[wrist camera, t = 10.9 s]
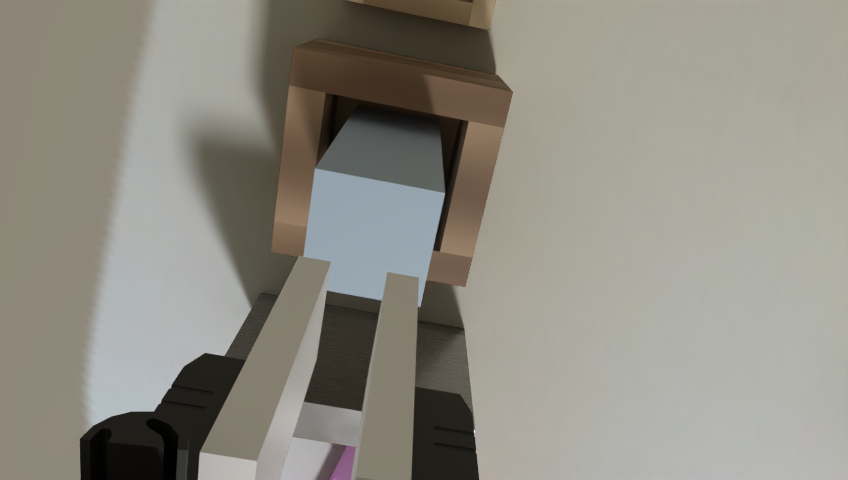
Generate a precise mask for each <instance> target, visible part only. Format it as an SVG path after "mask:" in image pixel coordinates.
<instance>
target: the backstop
mask: <svg viewBox="0 0 848 480" xmlns="http://www.w3.org/2000/svg"><path fill="white" fill-rule="evenodd" d="M278 297H279V296H274V295H268V294H263V293H260V295H259V297H258V299H257V300H256V302H255V304H254V306H253V307H252V309H251V311H250V313H249V314H248V316H247V318H246V320H245V321H244V323H243V325H242V327H241V328H240V330H239V332H238V334H237V335H236V337H235V339H234V341H233V342H232V344H231V346H230V348H229V349H228V351H227V353H226V355H225V356H226V357H232V358H237V359H243V360H247V358H248V356H249V354H250V352H251V350H252V348H253V346H254V344H255V342H256V340H257V338H258V336H259V334H260V332H261V330H262V328H263V326H264V324H265V322H266V320H267V318H268V316H269V314H270V312H271V310H272V308H273V306H274V304H275V302H276V300H277V298H278ZM378 318H379V314H377V313H371V312H365V311H360V310H354V309H348V308H342V307H337V306H331V305H325V307H324V313H323V320H322V327H321V333H320V340H319V346H318V353H317V360H316V363H315V366H314V369H313V373H312V376H311V379H310V382H309V385H308V389H307V392H306V395H305V398H304V401H303V405H302V408H301V411H300V414H299V417H298V421H297V424H296V427H295V430H294V433H293V437H297V438H304V439H310V440H316V441H322V442H328V443H335V444H341V445H347V446H353V447H356V444H357V438H358V432H359V426H360V420H361V414H362V408H363V402H364V395H365V389H366V383H367V377H368V371H369V365H370V360H371V355H372V350H373V344H374V339H375V334H376V329H377V323H378ZM415 387H421V388H427V389H433V390H439V391H444V392H450V393H456V394H460V395H461V396H462V398H463V399H464V401H465V403H466V404H467V406H468V407H469V409H470V410H471V412H472V415H473V406H472V397H471V387H470V378H469V368H468V359H467V349H466V340H465V330H464V329H462V328H456V327H451V326H445V325H439V324H434V323H428V322H422V321H417V341H416V368H415ZM473 425H474V416H473ZM474 432H475V425H474Z"/></svg>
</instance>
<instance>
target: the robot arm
mask: <svg viewBox="0 0 848 480" xmlns="http://www.w3.org/2000/svg"><path fill="white" fill-rule="evenodd" d="M330 267H331V262H330V261H324V260H319V259H313V258H308V257H302V256H299V257H298V259H297V261H296V263H295V265H294V267H293V269H292V271H291V273H290V275H289V277H288V279H287V281H286V283H285V285H284V287H283V289H282V291H281V293H280V295H279V297H278V298H277V300H276V302H275V304H274V306H273V308H272V310H271V312H270V314H269V316H268V318H267V320H266V322H265V324H264V326H263V328H262V330H261V332H260V334H259V336H258V338H257V340H256V342H255V344H254V346H253V348H252V350H251V352H250V354H249V356H248V358H247V360H243V359H237V358H232V357H226V356H220V355H214V354H208V353H205V354H203V355H201V356H200V357H198V358H197V359H195V360H194V361H192V362H191V363H189V364H187V365H186V366H184V367H183V369H182V370H181V372H180V373H179V375H178V376H177V378H176V379H175V381H174V382H173V384H172V387H171V389H169V390H168V391H167V393H166V394H165V396H164V397H163V399H162V402H161V404H159V405H158V406H157V408H156V409H155V411H154V412H129V413H125V414H121V415H116V416H112V417H110V418H108V419H106V420H104V421H102V422H100V423H98V424H96V425H94V426H93V427H92V428H91V429H90V430H89V431H87V433H86V434H84V435H83V437H82V438H81V439H80V464H81V465H80V466H81V480H279V478H280V475H281V472H282V469H283V465H284V462H285V459H286V456H287V453H288V449H289V446H290V443H291V440H292V437H293V433H294V430H295V427H296V424H297V421H298V417H299V414H300V411H301V408H302V405H303V401H304V398H305V395H306V392H307V389H308V385H309V382H310V379H311V376H312V373H313V369H314V366H315V363H316V360H317V353H318V346H319V340H320V333H321V327H322V320H323V313H324V307H325V300H326V293H327V287H328V280H329V274H330ZM418 289H419V277H413V276H407V275H402V274H396V273H391V272H387V276H386V281H385V286H384V292H383V297H382V302H381V307H380V313H379V318H378V323H377V329H376V334H375V339H374V344H373V350H372V355H371V360H370V365H369V371H368V377H367V383H366V389H365V395H364V402H363V408H362V414H361V420H360V426H359V432H358V438H357V444H356V450H355V457H354V463H353V469H352V475H351V480H479V473H478V464H477V454H476V444H475V437H474V425H473V415H472V412H471V410H470V409H469V407H468V406H467V404H466V403H465V401H464V399H463V398H462V396H461V395H460V394H456V393H450V392H444V391H439V390H433V389H427V388H421V387H415V368H416V341H417V315H418Z"/></svg>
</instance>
